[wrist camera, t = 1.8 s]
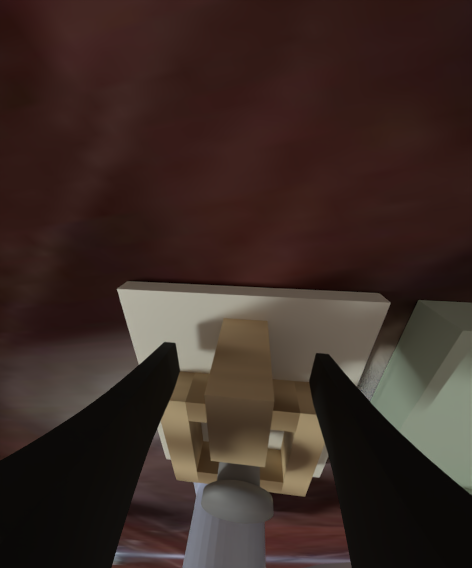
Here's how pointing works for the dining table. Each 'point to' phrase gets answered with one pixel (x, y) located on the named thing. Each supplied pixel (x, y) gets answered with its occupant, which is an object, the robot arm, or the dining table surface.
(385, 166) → the dining table surface
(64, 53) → the dining table surface
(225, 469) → the board
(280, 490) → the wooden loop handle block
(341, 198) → the dining table surface
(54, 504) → the robot arm
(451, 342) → the tray
